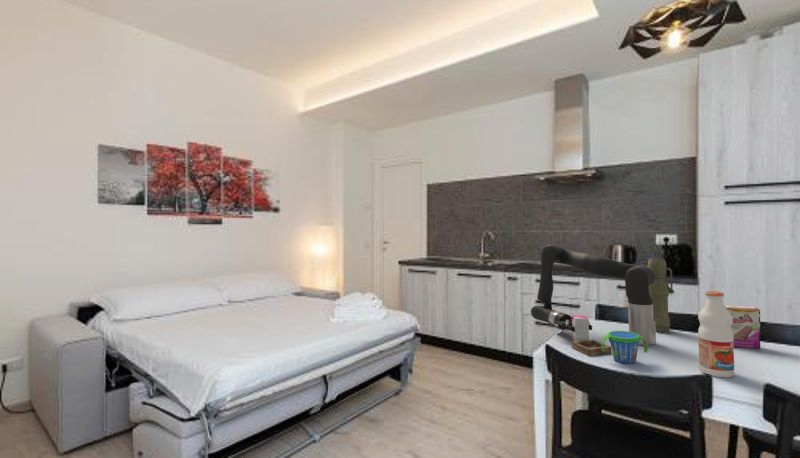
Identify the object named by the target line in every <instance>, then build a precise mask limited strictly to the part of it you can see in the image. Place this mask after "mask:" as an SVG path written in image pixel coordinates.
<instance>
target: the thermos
mask: <svg viewBox="0 0 800 458" xmlns="http://www.w3.org/2000/svg"><path fill="white" fill-rule="evenodd" d="M647 267H648V268H650V269H651V270H652V271H653V272H654V273H655V276H656V279H655V281H654V282H653V283H652V284H651V285H649V294H650V296H651V297H652V298H653V321H655V322H656V334H657V333H658V334H659V333H660V334H668V333H670V332H671V330H670V328H671V320H670V316H669V295H670V291H673V270H672V269H671V268H670V267H667V262H666V259H665V258H663V257H651V258H648V262H647ZM668 271H669V276H670V277H669V278H670V282H669V281H668V277H667V274H668ZM669 283H670V286H669Z"/></svg>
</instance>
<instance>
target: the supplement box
mask: <svg viewBox="0 0 800 458" xmlns="http://www.w3.org/2000/svg"><path fill="white" fill-rule="evenodd" d="M571 317H572V326H573V327H575V332H572V331H571V332H572V334H571V335H572V336H571V337H572V339H571V340H572V341H571V342H575V341H585V340H590V330H589V322H590V319H589V317H587V316H586V315H575V314H573V315H571Z"/></svg>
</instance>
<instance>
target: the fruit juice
mask: <svg viewBox="0 0 800 458" xmlns="http://www.w3.org/2000/svg"><path fill="white" fill-rule="evenodd" d="M704 295H705V298H706V299H705V302H704V303H705V304H704V305H703V308H701V310H700V311H699V312H698V317H697V318H698V321H699V324H700V325H699V327H698V330H697V331H698V332H697V337H698V338H697V340H698V367H699V371H700V372H701V373H703V374H705V373H707V374H711V375H712V376H711V375H710V376H711V377H714V378H715V377H717V378H723V379H725V378H727V379H728V378H732V377H734V376H735V347H734V339H733V332H732V330H731V324H732V316H731V314H730V313H729V312H728V311H727V310H726V308H725V306H724V305H725V304H724V301H723V298H724V297H725V296H724V295H725V294H724V292H722V291H714V290H713V291H712V290H708V291H705V294H704ZM707 374H706V375H707Z"/></svg>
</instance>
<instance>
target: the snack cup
mask: <svg viewBox="0 0 800 458" xmlns="http://www.w3.org/2000/svg"><path fill="white" fill-rule="evenodd" d="M607 339H608V340H609V343H610V347H611V354H612V357H613V360H614V361H616V362H619V363H621V364H634V363H636V361H637V357H638V352H639V351H638V349H639V345H638V343H639V340H640V339H642V340H643V342H644V345H643V353H646V354H647V352H648V350H649V349H648V345H647V343H646V341H645V339H644V338H642V337H641V336H639V335H638V334H636V333H633V332H629V331H627V330H626V331H624V330H612V331H609V332H608V333H607V334H606V335H604V336H603V338H602V340H601V342H600V343H601V347H602V350H603V351H604V352H605V350H604V344H605V341H606V340H607Z"/></svg>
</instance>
